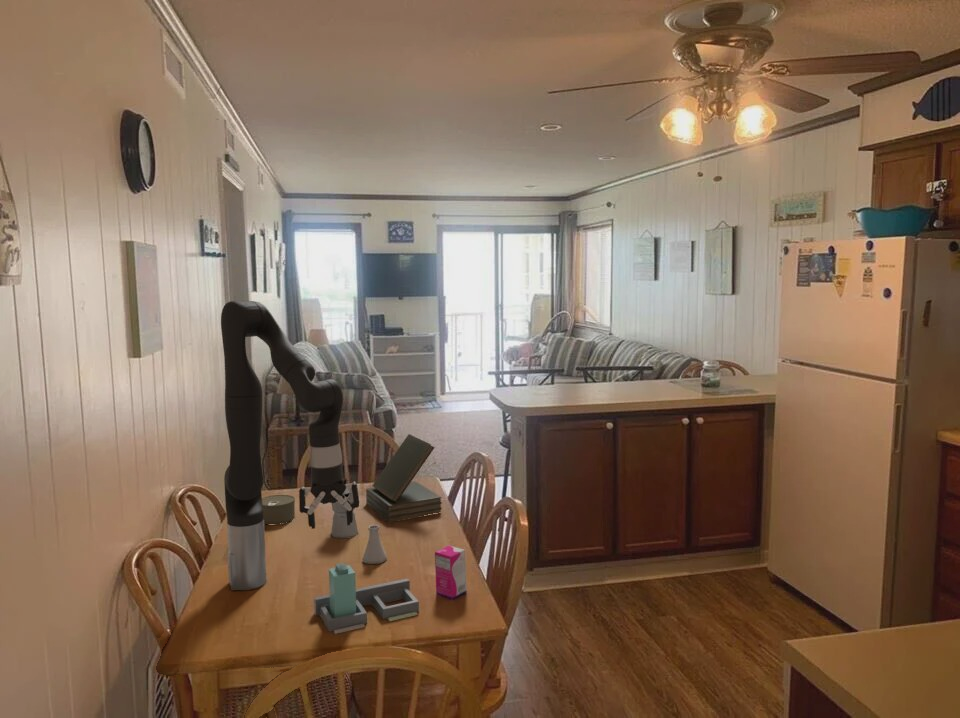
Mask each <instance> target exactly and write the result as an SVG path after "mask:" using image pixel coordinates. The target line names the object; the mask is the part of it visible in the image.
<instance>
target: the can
mask: <svg viewBox="0 0 960 718" xmlns="http://www.w3.org/2000/svg"><path fill="white" fill-rule="evenodd" d="M295 501H296V498H295V497H294V496H292V495H289V494H288V495H287V494H275V495H268V496H264V497H262V504H263V510H264V525H265V524H280V523H286V522H289V521H291V522H293V521H294V520H295V519H296V513H295V511H296V510H295V509H296V508H295V507H296V506H295V504H296V502H295ZM294 518H295V519H294ZM293 519H294V520H293ZM292 520H293V521H292ZM289 523H290V522H289ZM286 524H287V523H286Z"/></svg>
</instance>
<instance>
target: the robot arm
mask: <svg viewBox="0 0 960 718" xmlns="http://www.w3.org/2000/svg"><path fill="white" fill-rule="evenodd" d="M220 329H221V330H220V331H221V337H222V338H221V339H222V346H223V347H222V348H223V358H224V413H225V422H226V423H225V424H226V428H227V435H228V440H229V446H230V452H229V453H230V454H229V465H228V466H227V468H226V470H225V473H224V477H223V478H224V480H223V482H224V501H225V512H226V523H227V525H226V526H227V543H228V544H227V545H228V546H227V566H228V567H227V568H228V583H229V586H230V589H231V591H251V590H254V589H257V588H260V587H262V586H263V585H265V584H266V583H267V564H266V563H267V561H266V539H265V538H266V537H265V524H264V510H263V504H262V498H263V497H262V496H263V495H262V489H263V486H264V475H263V473H264V472H263V467H262V466H263V465H262V454H261V436H262V426H263V405H264V404H263V386H262V384H261V381H260V379H259V377H258V376H257V374H256V372H255V370H254V369H253V367H252V365H251V363H250V361H249V358H248V356H247V347H246V345H247V344H246V338H249V337H251V338H252V337H257V338H258V339H260V340H262V341H263V342H264V343H265V344H266V345H267V346H268V347H269V353H270V360H271V363H272V365H273V367H274V369H275V370H276V371H277V372H278V374H279V375H280V376H281V377H283V379H284V380H285V381H286V382H287V383H288V384H289V386H290V387H291V389H292V392H293V394H294V396H295V398H296V400H297V403H298V404H299V406H300V407H301V408H302V409H303V410H304V411H306V412H309V413H318V412H319V415H318V417H317V418H316V419H314V420H313V421H311V422H310V423H309V426H308V437H309V438H308V439H309V461H310V473H311V487H309V486H308V487H307V486H306V487H305V486H304V485H301V486H300V487H299V490H298V493H299V494H298V495H299V496H298V499H299V504H298V505H299V508H298V509H299V512H300V513H301V514H306V515H307V522H308V526H309V528H311V529H313V530H314V529H316V517H315V510H316V509H317V508H318V506H319V504H323V505H325V504H332V503H336V502H337V501H339V502H340V504H341V505H343V506H344V507H345V508H346V515H347V525H350V523H352V521H353V513H352V510H353V509H354V508H355V509H358V508H359V507H360V497H359V490H358V483H357V481H352V482H351V483H350V482H349V483H346V484H345V483H344V480H343V478H344V470H343V467H344V466H343V456H342V454H343V453H342V448H341V444H340V431H339V425H340V420H341V414H342V408H343V403H344V394H343V389H342V387H341V385H340V384H339V382H337V381H336V380H334V379H332V378H331V379H330V378H329V379H323V380H318V381H314V379H315V376H316V370H315V368H314V366H313V365H312V364H311V362H309V361H308V360H307V359H306V357H304V355H303V354H302V353H301V352H300V351H299V350H298V349H297V348H296V347H295V346H294V345H293V344H292V342H291V341H290V339H288V337H287V335H286V334H285V333H284V331H283V329H282V328H281V327H280V325H279V324H278V322H277V321H276V319H275V318H274V316H273V314H272V313H271V312H270V310H269V309H268V308H267V307H266V306H265V304H263V303H261V302H260V301H253V300H232V301H228V302H226V303H225V304H224V306H223V307H222V311H221V315H220ZM346 489H348V490H349V492H352V494H353V501H354V502H352V503H351V502H350V501H349V500H348V499H347V498H346V496H345V495H344V494H343V493H344V491H345V490H346ZM309 493H310V494H312V496H313V497H314V499H313V501H312V502H311V503H310V505H309V506H307V505H306V500H307V499H306V497H308V495H309ZM355 509H354V510H355Z"/></svg>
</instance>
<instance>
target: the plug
mask: <svg viewBox="0 0 960 718" xmlns="http://www.w3.org/2000/svg"><path fill="white" fill-rule="evenodd" d="M334 566H335V567H332V568H329V569H328V581H329V582H328V583H329V585H328V586H329V587H328V588H329V589H328V590H329V594H330V616H331V618H337V617H341V616H346V615H351V614H355V613H356V589H357V587H356V571H355V570H354V569H353V568H352V567H351V565H350V564H348V565H346V563H345V562H342V563H336V564H335V565H334Z"/></svg>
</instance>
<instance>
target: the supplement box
mask: <svg viewBox="0 0 960 718" xmlns="http://www.w3.org/2000/svg"><path fill="white" fill-rule="evenodd" d="M434 564H435V565H434V567H435V590H436V595H438V596H441V597H444V598H446V599H449V600H452V601H454V600H455V599H457V598H459V597H460V596H462V595H464V594H466V593H467V571H466V569H467V568H466V549H464V548H460V547H456V546H452V545H447V546H445V547H443V548H441V549H438V550H436V551H434Z"/></svg>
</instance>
